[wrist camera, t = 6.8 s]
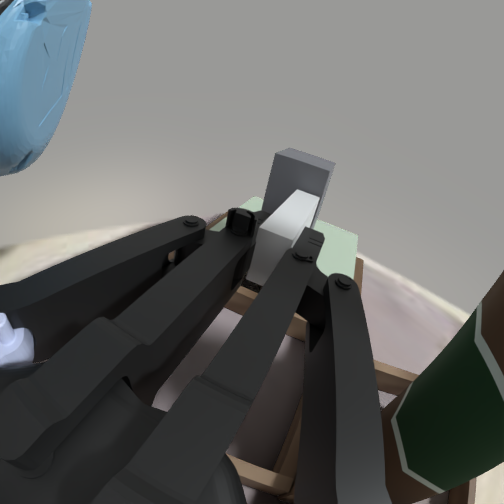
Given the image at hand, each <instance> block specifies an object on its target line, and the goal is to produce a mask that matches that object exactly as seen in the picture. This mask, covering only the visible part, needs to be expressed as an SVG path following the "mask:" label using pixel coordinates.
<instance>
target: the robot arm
mask: <svg viewBox="0 0 504 504" xmlns="http://www.w3.org/2000/svg"><path fill="white" fill-rule="evenodd" d="M91 6H92V3H91V2H90V0H0V176H4V175H10V174H14V173H18V172H20V171H22V170H24V169H26V168H27V167H29V166H30V165H31V164H32V163H34V162H35V161H36V160H37V159H38V157H39V156H40V155H41V154H42V153H43V151H44V150H45V148H46V147H47V145H48V143H49V142H50V140H51V138H52V136H53V134H54V132H55V130H56V128H57V126H58V123H59V121H60V119H61V116H62V114H63V111H64V108H65V105H66V102H67V100H68V96H69V93H70V90H71V87H72V84H73V81H74V78H75V74H76V71H77V68H78V64H79V61H80V57H81V53H82V49H83V46H84V42H85V38H86V33H87V29H88V24H89V19H90V14H91ZM319 199H320V197H317V196H314V195H312V194H309V193H306V192H303V191H301V190H298V189H297V190H296V191H295V192H294V193H293V194H292V195H291V196H290V197H289V198H288V199H287V200H286V201H285V202H284V203H283V204H282V205H281V206H280V207H279V208H278V209H277V210H276V211H275V212H274V213H273V214H270V213H267V212H264V211H262V210H260V211H256V212H252V211H250V210H247V209H244V208H231V209H229V210H228V215H227V220H226V226H225V227H224V228H223V229H222V230H220V231H219V232H218V231H212V230H207V229H206V222H205V221H204V220H203V219H201V218H199V217H197V216H192V215H191V216H182V217H179V218H176V219H173V220H170V221H168V222H165V223H162V224H159V225H156V226H153V227H151V228H148V229H145V230H142V231H140V232H137V233H134V234H132V235H129V236H126V237H124V238H121V239H118V240H116V241H113V242H111V243H108V244H105V245H103V246H100V247H98V248H95V249H93V250H90V251H88V252H85V253H83V254H81V255H78V256H76V257H73V258H71V259H69V260H66V261H64V262H62V263H59V264H57V265H55V266H52V267H50V268H48V269H46V270H43V271H41V272H39V273H37V274H34V275H32V276H30V277H28V278H26V279H24V280H21V281H19V282H14V283H9V284H4V285H0V504H247V502H246V498H245V495H244V491H243V487H242V483H241V480H240V476H239V474H238V472H237V469H236V467H235V466H234V464H233V462H232V461H231V459H230V458H229V457H228V456H227V454H226V453H225V452H226V451H227V449H228V447H229V445H230V443H231V442H232V440H233V438H234V436H235V434H236V433H237V431H238V429H239V427H240V425H241V423H242V422H243V420H244V418H245V416H246V414H247V412H248V410H249V408H250V406H251V404H252V402H253V400H254V399H255V397H256V395H257V393H258V391H259V389H260V387H261V385H262V383H263V381H264V379H265V377H266V375H267V373H268V370H269V368H270V366H271V364H272V362H273V360H274V358H275V356H276V354H277V352H278V349H279V347H280V345H281V343H282V341H283V339H284V337H285V334H286V332H287V330H288V328H289V325H290V323H291V321H292V319H293V316H294V314H295V313H297V314H298V315H299V316H301V317H302V318H304V319H305V320H306V321H307V323H306V336H305V365H304V386H303V403H302V417H301V430H300V442H299V452H298V462H297V471H296V480H295V491H294V504H392V502H391V499H390V497H389V494H388V491H387V489H386V486H385V460H384V444H383V431H382V420H381V411H380V402H379V394H378V387H377V379H376V373H375V366H374V360H373V354H372V349H371V343H370V338H369V333H368V328H367V323H366V318H365V313H364V309H363V304H362V300H361V295H360V291H359V287H358V285H357V283H356V282H355V281H354V280H353V279H352V278H351V277H349V276H347V275H344V274H341V273H333V274H331V275H329V277H328V276H326V275H325V274H324V273H322V272H321V271H320V270H319V268H318V267H317V264H316V262H317V259H318V256H319V254H320V251H321V248H322V246H323V243H324V241H325V237H324V234H323V233H321V232H319V231H316V230H314V229H311V228H310V225H311V223H312V220H313V217H314V214H315V211H316V208H317V205H318V202H319ZM172 251H174V258H173V259H171V260H169V259H168V255H169V253H170V252H172ZM247 271H248V273H247V277H246V279H247V280H249V281H252V282H254V283H256V284H258V285H261V286H263V287H262V289H261V290H260V292H259V293H258V295H257V296H256V298H255V299H254V301H253V302H252V304H251V305H250V307H249V308H248V309H247V311H246V312H245V314H244V315H243V317H242V318H241V320H240V321H239V323H238V324H237V326H236V327H235V329H234V330H233V332H232V333H231V334H230V336H229V337H228V339H227V340H226V342H225V343H224V345H223V346H222V348H221V349H220V350H219V352H218V353H217V355H216V356H215V358H214V359H213V360H212V362H211V363H210V365H209V366H208V368H207V369H206V370H205V372H204V373H203V374H202V375H201V376H196V377H194V378H193V379H192V380H191V382H190V383H189V384H188V385H187V387H186V388H185V389H184V391H183V392H182V393H181V395H180V396H179V398H178V399H177V400H176V402H175V403H174V404H173V406H172V407H171V408H170V410H169V411H168V412H165V411H162V410H159V409H157V408H154V407H151V405H152V404H153V401H154V398H155V395H156V393H157V391H158V390H159V389H160V387H161V386H162V385H163V384H164V382H165V381H166V380H167V379H168V377H169V376H170V375H171V374H172V372H173V371H174V370H175V369H176V367H177V366H178V365H179V364H180V362H181V361H182V360H183V358H184V357H185V356H186V355H187V353H188V352H189V351H190V350H191V348H192V347H193V346H194V345H195V343H196V342H197V341H198V340H199V338H200V337H201V336H202V334H203V333H204V332H205V331H206V329H207V328H208V327H209V326H210V324H211V323H212V322H213V320H214V319H215V318H216V317H217V315H218V314H219V313H220V311H221V310H222V309H223V308H224V306H225V305H226V304H227V303H228V301H229V300H230V299H231V297H232V296H233V295H234V294H235V292H236V291H237V290H238V288H239V287H240V286H241V284H242V282H243V277H244V275H245V274H246V272H247ZM49 358H50V359H49ZM46 359H49V360H48V361H47V362H44V363H36V364H33V363H35V362H39V361H43V360H46Z"/></svg>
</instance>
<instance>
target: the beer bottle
mask: <svg viewBox="0 0 504 504" xmlns="http://www.w3.org/2000/svg"><path fill="white" fill-rule="evenodd" d="M381 420H382V431H383V444H384V460H385V486H386V489H387V491H388V494H389V497H390V499H391V502H392V504H412V503H415V502H418V501H421V500H424V499H427V498H430V497H432V496H435V495H438V494H440V493H443V492H445V491H448V490H450V489H452V488H455V487H457V486H459V485H461V484H463V483H465V482H468V481H470V480H472V479H474V478H476V477H478V476H479V475H481V474H483V473H485V472H487V471H489V470H490V469H492V468H494V467H496V466H497V465H499V464H501V463H502V462H504V271H503V272H502V274H501V275H500V277H499V278H498V279H497V281H496V282H495V283H494V285H493V286H492V288H491V289H490V290H489V292H488V293H487V294H486V296H485V297H484V298H483V299H482V301H481V302H480V303H479V305H478V306H477V308H476V309H475V311H474V312H473V313H472V315H471V316H470V317H469V319H468V320H467V321H466V322H465V324H464V325H463V326H462V328H461V329H460V330H459V331H458V333H457V334H456V335H455V336H454V338H453V339H452V340H451V341H450V342H449V344H448V345H447V346H446V347H445V348H444V349H443V351H442V352H441V353H440V354H439V355H438V356H437V357H436V358H435V359H434V361H433V362H432V363H431V364H430V365H429V366H428V367H427V368H426V369H425V370H424V371H423V372H422V373H421V374H420V375H419V376H418V377H417V378H416V379H415V380H414V381H413V382H412V383H411V384H410V385H409V386H408V387H407V388H406V389H405V390H404V391H403V392H401V393H400V394H399V395H398V396H397V397H396V398H395V399H394V400H393V401H391V402H390V403H389V404H388V405H387V406H386V407H385V408H384V409H383V410H382V411H381Z"/></svg>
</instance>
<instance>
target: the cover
mask: <svg viewBox="0 0 504 504" xmlns="http://www.w3.org/2000/svg"><path fill="white" fill-rule="evenodd" d="M334 166H335V163H334V162H331V161H328V160H325V159H322V158H320V157H317V156H314V155H311V154H308V153H305V152H301V151H298V150H295V149H292V148H288V149H285V150H282V151H280V152H277V153H275V157H274V161H273V165H272V169H271V173H270V177H269V181H268V185H267V189H266V193H265V197H264V199H261V198H258V197H253V198H251V199H250V200H249V201H248V202H246V203H245V204H243V205H242V206H240V207H239V208H244V209H247V210H250V211H252V212H256V211H260V210H262V211H264V212H267V213H270V214H273V213H274V212H275V211H276V210H277V209H278V208H279V207H280V206H281V205H282V204H283V203H284V202H285V201H286V200H287V199H288V198H289V197H290V196H291V195H292V194H293V193H294V192H295V191H296V190H297V189H298V190H301V191H303V192H306V193H309V194H312V195H314V196H317V197H320V199H319V202H318V205H317V208H316V211H315V214H314V217H313V220H312V223H311V225H310V228H311V229H314V230H316V231H319V232H321V233H323V234H324V237H325V241H324V243H323V246H322V248H321V251H320V254H319V256H318V259H317V262H316V264H317V267H318V268H319V270H320V271H321V272H322V273H324V274H325V275H326V276H328V277H329V275H331V274H333V273H341V274H344V275H347V276H349V277H351V278H352V279H353V278H354V270H355V261H356V252H357V241H358V235H356V234H353V233H351V232H348V231H346V230H343V229H341V228H338V227H336V226H333V225H331V224H328V223H326V222H323V221H321V220H318V219H317V218H318V215H319V212H320V209H321V206H322V203H323V200H324V197H325V194H326V191H327V188H328V185H329V182H330V179H331V176H332V172H333V169H334ZM226 220H227V217H225V218H224V219H223V220H221V221H220V222H219V223H217V224H216V225H215V226H213V227H212V228H211V229H209V230H212V231H218V232H219V231H220V230H222V229H223V228H224V227H225V226H226Z"/></svg>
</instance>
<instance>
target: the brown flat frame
mask: <svg viewBox="0 0 504 504" xmlns="http://www.w3.org/2000/svg"><path fill="white" fill-rule="evenodd" d="M227 215H228V212H226V213H225V214H223V215H222V216H221V217H219V218H218V219H216V220H215V221H214V222H212V223H211V224H209V225H208V226H207V227H206V229H207V230H209V229H211V228H212V227H213V226H215V225H216V224H217V223H219V222H220V221H221V220H223V219H224V218H225V217H227ZM173 258H174V251H173V252H172V253H170V254H169V255H168V259H169V260H171V259H173ZM362 275H363V260H362V259H360V258H357V257H356V261H355V270H354V278H353V280H354V281H355V282H356V283H357V285H358V287H359V291H360V295H361V288H362ZM257 295H258V293H256V292H254V291H251V290H249V289H247V288H245V287H242V286H240V287H239V288H238V290H237V291H236V292H235V294H234V295H233V296H232V297H231V299H230V300H229V301H228V303H227V304H226V305H225V306H224V307H226V308H228V309H230V310H232V311H234V312H236V313H239V314H241V315H244V314H245V312H246V311H247V309H248V308H249V307H250V305H251V304H252V302H253V301H254V299H255V298H256V296H257ZM306 323H307V321H306V320H305V319H304V318H302V317H301V316H299V315H298V314H297V313H295V314H294V316H293V319H292V321H291V323H290V325H289V328H288V330H287V332H286V334H287V335H289V336H292V337H294V338H296V339H299V340H301V341H304V342H305V336H306ZM374 366H375V373H376V379H377V387H378V390H381V391H384V392H388V393H391V394H394V395H399V394H400V393H401V392H403V391H404V390H405V389H406V388H407V387H408V386H409V385H410V384H411V383H412V382H413V381H414V380H415V379H416V378H417V377H418V376H419V375H417V374H414V373H411V372H408V371H405V370H402V369H399V368H396V367H393V366H390V365H387V364H384V363H381V362H379V361H376V360H374ZM302 403H303V393H302V396H301V399H300V402H299V405H298V407H297V410H296V413H295V416H294V418H293V421H292V424H291V426H290V429H289V431H288V434H287V436H286V439H285V441H284V444H283V446H282V449H281V451H280V454H279V456H278V458H277V461H276V463H275V465H274V468H273V470H272V471H269V470H266V469H264V468H261V467H258V466H256V465H253V464H250V463H248V462H245V461H243V460H241V459H238V458H236V457H233V456H231V455H229V454H227V453H226V454H227V456H228V457H229V458H230V459H231V461H232V462H233V464H234V466H235V467H236V469H237V472H238V474H239V476H240V480H241V483H242V484H243V485H246V486H249V487H251V488H254V489H257V490H260V491H263V492H266V493H269V494H272V495H275V496H278V495H279V496H278V498H277V500H281V501H284V502H288V503H291V504H294V491H295V480H296V471H297V462H298V452H299V442H300V430H301V417H302ZM475 492H476V478H474V479H472V480H470V481H468V482H465V483H463V484H461V485H459V486H457V487H455V488H452V489H450V492H449V500H448V504H474V503H475Z"/></svg>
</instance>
